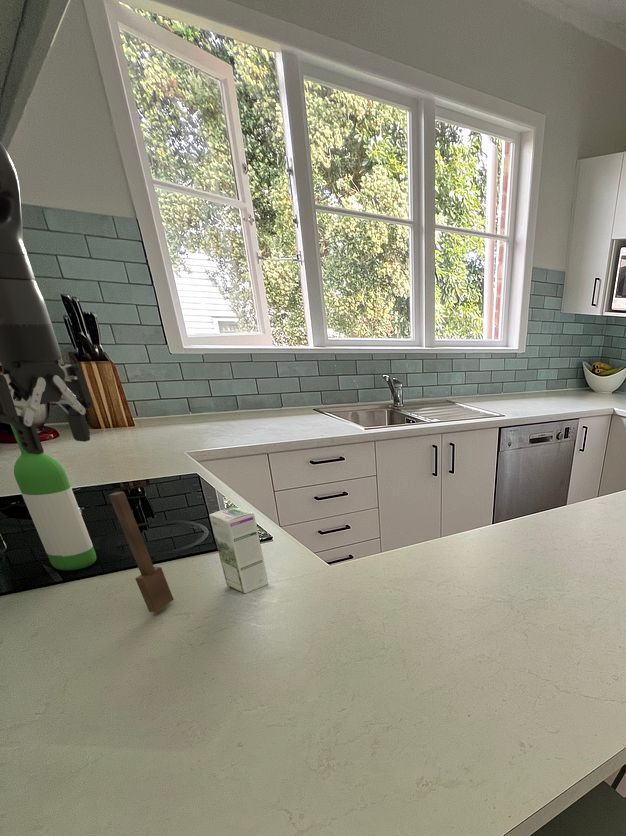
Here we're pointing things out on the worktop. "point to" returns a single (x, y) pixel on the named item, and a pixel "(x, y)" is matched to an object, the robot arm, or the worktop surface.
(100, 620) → the worktop surface
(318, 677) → the worktop surface
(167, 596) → the brown paddle
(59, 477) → the wine bottle
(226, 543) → the syrup box
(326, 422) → the worktop surface
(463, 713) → the worktop surface
